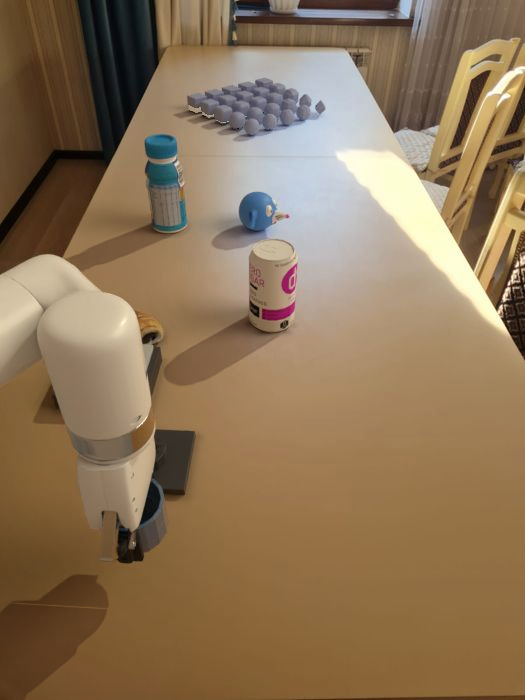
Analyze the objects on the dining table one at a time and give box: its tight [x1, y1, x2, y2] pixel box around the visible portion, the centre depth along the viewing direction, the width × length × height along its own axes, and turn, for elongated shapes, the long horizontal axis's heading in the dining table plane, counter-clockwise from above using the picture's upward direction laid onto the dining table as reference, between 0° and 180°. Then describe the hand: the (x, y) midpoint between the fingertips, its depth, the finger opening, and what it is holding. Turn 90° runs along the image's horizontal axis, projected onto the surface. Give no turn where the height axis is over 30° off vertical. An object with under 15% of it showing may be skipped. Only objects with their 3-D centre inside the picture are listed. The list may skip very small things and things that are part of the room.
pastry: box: [134, 310, 165, 345], centre depth 95 cm, size 9×7×4 cm
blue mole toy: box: [238, 191, 291, 232], centre depth 122 cm, size 12×12×8 cm
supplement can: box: [248, 238, 299, 333], centre depth 95 cm, size 8×8×15 cm
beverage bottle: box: [143, 133, 188, 234], centre depth 119 cm, size 8×8×20 cm
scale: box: [51, 344, 163, 410], centre depth 85 cm, size 14×12×4 cm
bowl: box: [102, 478, 170, 554], centre depth 59 cm, size 7×7×6 cm
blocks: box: [186, 77, 327, 136], centre depth 184 cm, size 35×34×5 cm
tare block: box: [152, 428, 197, 496], centre depth 74 cm, size 12×10×3 cm
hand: (137, 525), depth 60 cm, fingers closed on bowl, 6 cm apart
